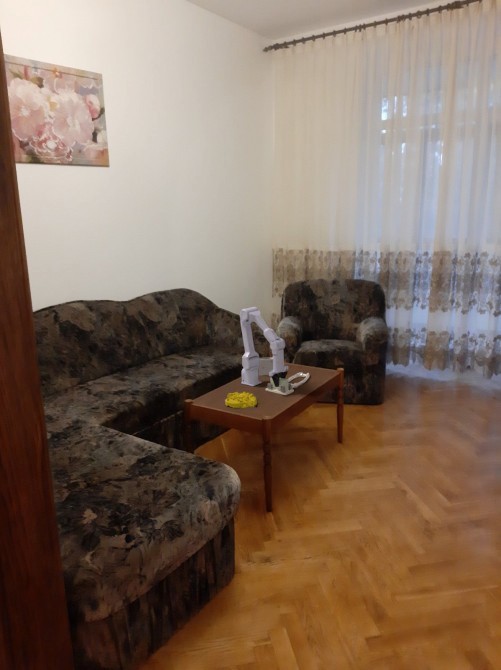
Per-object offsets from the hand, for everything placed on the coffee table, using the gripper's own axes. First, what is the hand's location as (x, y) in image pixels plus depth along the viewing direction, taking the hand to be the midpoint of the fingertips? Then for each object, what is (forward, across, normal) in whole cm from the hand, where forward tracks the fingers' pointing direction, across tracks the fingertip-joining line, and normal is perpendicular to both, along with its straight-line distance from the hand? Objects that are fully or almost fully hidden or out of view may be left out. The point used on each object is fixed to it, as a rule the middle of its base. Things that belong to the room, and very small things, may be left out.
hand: (279, 385), depth 270 cm
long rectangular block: (+2, 0, 0) cm, 2 cm away
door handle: (+4, +18, +2) cm, 19 cm away
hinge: (+3, +21, +25) cm, 33 cm away
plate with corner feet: (+3, 0, 0) cm, 3 cm away
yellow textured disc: (+4, -25, +6) cm, 26 cm away
